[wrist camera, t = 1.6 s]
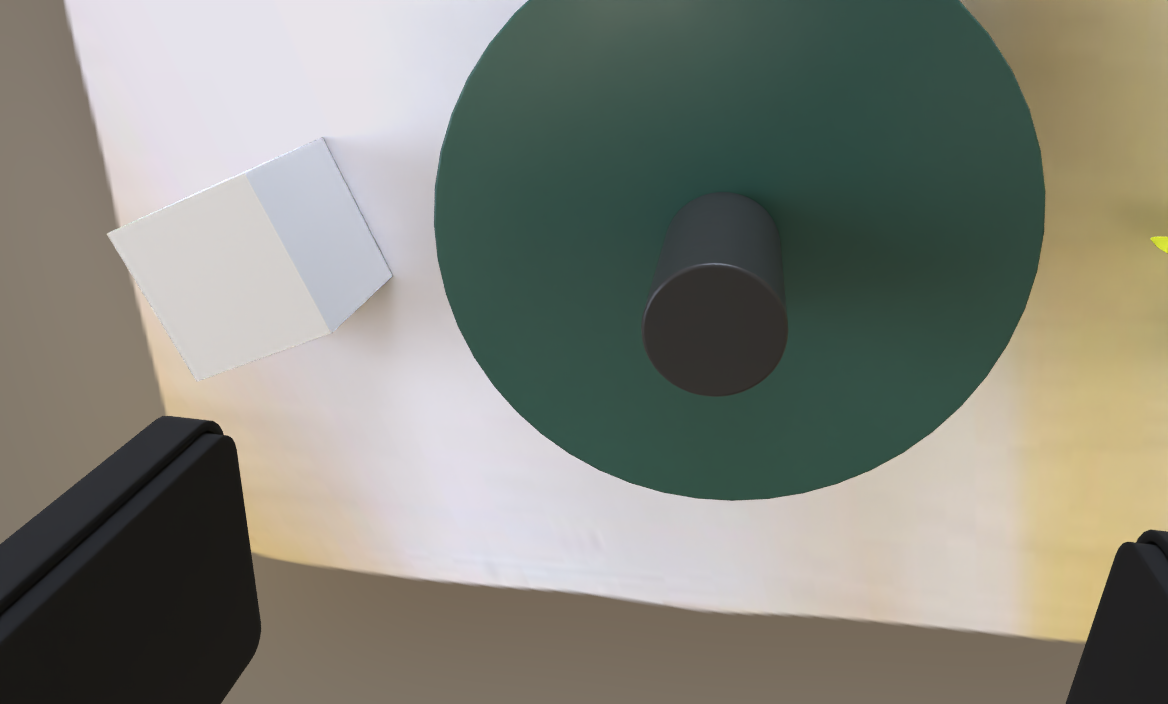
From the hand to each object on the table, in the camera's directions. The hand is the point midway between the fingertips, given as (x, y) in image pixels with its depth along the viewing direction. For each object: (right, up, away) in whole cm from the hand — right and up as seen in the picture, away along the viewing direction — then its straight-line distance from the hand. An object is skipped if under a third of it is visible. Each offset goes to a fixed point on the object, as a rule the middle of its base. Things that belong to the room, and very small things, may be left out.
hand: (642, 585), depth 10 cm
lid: (+3, +5, +11) cm, 13 cm away
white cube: (-12, +7, +27) cm, 31 cm away
